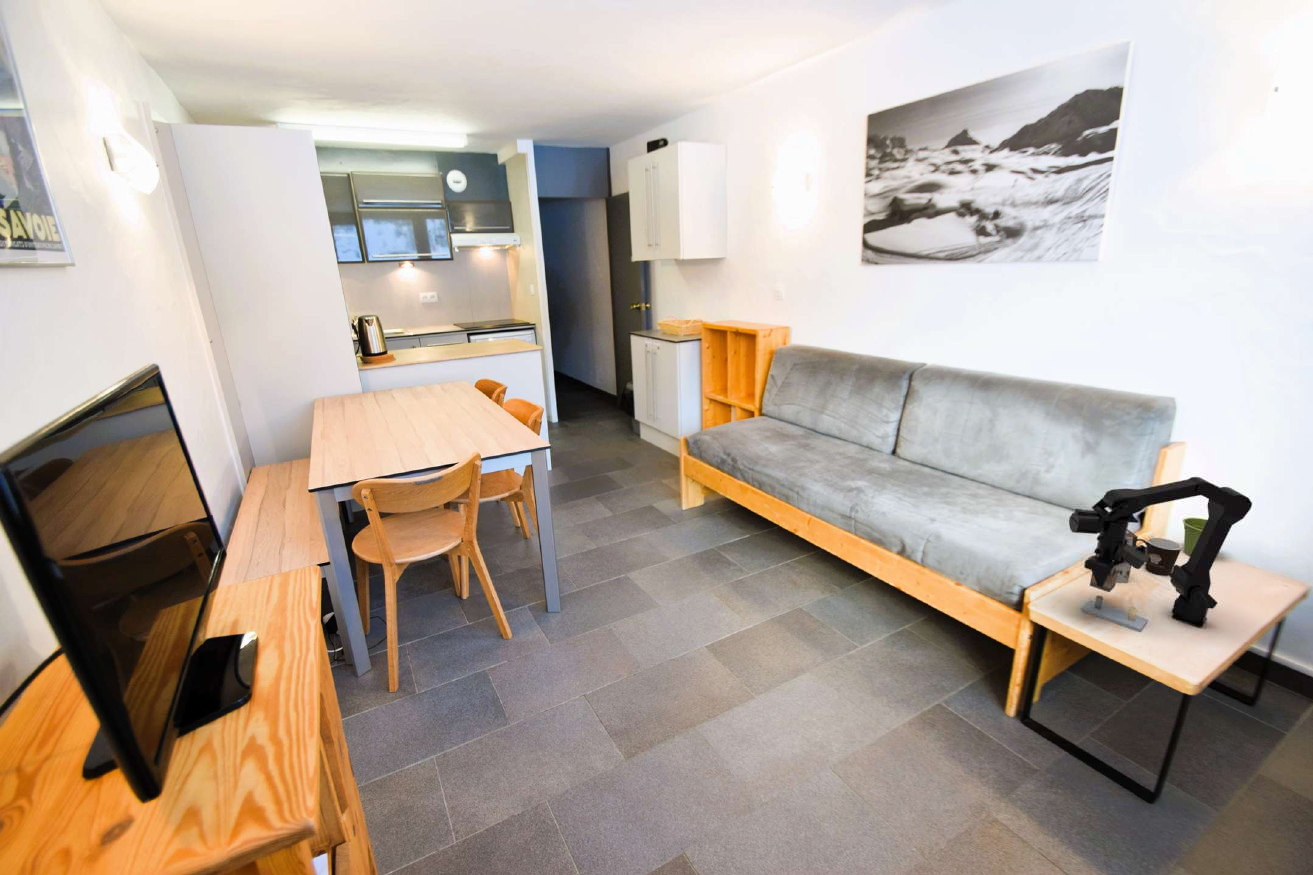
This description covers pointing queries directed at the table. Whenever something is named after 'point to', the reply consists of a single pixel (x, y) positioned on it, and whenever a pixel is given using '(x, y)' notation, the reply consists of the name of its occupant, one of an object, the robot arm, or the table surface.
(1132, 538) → the coffee box
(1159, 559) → the coffee mug
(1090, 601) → the pin board
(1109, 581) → the sleeve
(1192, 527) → the plant pot
